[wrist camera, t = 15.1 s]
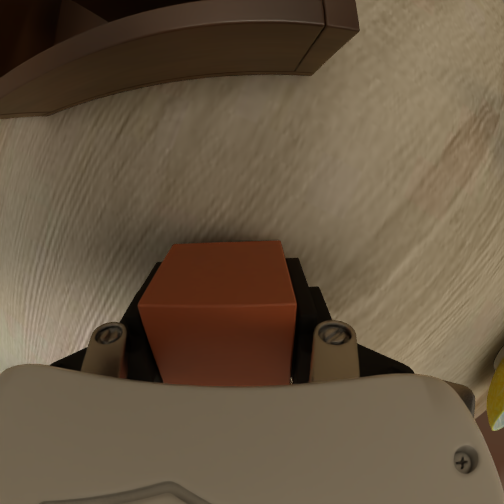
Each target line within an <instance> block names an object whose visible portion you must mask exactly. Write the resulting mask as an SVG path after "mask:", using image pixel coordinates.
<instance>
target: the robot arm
mask: <svg viewBox="0 0 504 504" xmlns="http://www.w3.org/2000/svg"><path fill="white" fill-rule="evenodd" d="M285 260H286V263H287V267H288V271H289V275H290V279H291V283H292V287H293V290H294V294H295V298H296V302H297V309H296V323H295V335H294V347H293V358H292V368H291V377H292V380H293V384H289V385H270V386H200V385H181V384H168V383H163V379H162V377H161V374H160V372H159V369H158V366H157V364H156V361H155V358H154V355H153V353H152V350H151V347H150V344H149V341H148V338H147V335H146V332H145V329H144V326H143V323H142V319H141V316H140V313H139V309H138V303H139V301H140V299H141V298H142V296H143V294H144V292H145V291H146V289H147V287H148V285H149V284H150V282H151V280H152V278H153V277H154V275H155V273H156V272H157V270H158V268H159V267H160V265H161V263H162V262H157V263H156V264H155V266H154V268H153V269H152V271H151V272H150V274H149V276H148V277H147V279H146V280H145V282H144V284H143V285H142V287H141V289H140V290H139V291H138V292H137V294H136V295H135V297H134V299H133V300H132V302H131V304H130V305H129V307H128V309H127V311H126V312H125V314H124V316H123V317H122V319H121V321H120V323H119V322H109V323H105V324H102V325H100V326H99V327H97V328H96V329H95V330H94V331H93V333H92V335H91V338H90V341H89V344H88V347H87V348H84V349H82V350H80V351H78V352H76V353H74V354H71V355H69V356H67V357H65V358H63V359H61V360H58V361H56V362H54V363H52V364H51V365H50V366H49V365H41V364H24V365H17V366H13V367H10V368H8V369H6V370H5V371H3V372H2V373H1V374H0V504H504V492H503V488H502V484H501V481H500V478H499V475H498V473H497V470H496V467H495V464H494V462H493V459H492V457H491V454H490V452H489V449H488V447H487V445H486V442H485V440H484V438H483V435H482V434H481V431H480V430H479V428H478V426H477V424H476V422H475V420H474V410H475V396H474V394H473V392H472V390H470V389H469V388H468V387H466V386H464V385H461V384H457V383H452V382H448V381H444V380H441V379H439V378H436V377H432V376H428V375H420V374H415V373H414V372H413V370H412V369H411V368H410V367H408V366H406V365H405V364H403V363H400V362H398V361H396V360H393V359H391V358H389V357H386V356H384V355H382V354H380V353H377V352H375V351H373V350H371V349H368V348H366V347H364V346H362V345H359V344H357V339H356V333H355V330H354V329H353V328H352V327H351V326H350V325H348V324H347V323H344V322H342V321H336V320H332V318H331V316H330V313H329V311H328V308H327V306H326V303H325V301H324V298H323V296H322V293H321V291H320V288H319V287H318V286H317V287H308V284H307V281H306V278H305V275H304V272H303V270H302V267H301V264H300V261H299V259H298V258H285Z"/></svg>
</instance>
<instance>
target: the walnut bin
mask: <svg viewBox="0 0 504 504" xmlns="http://www.w3.org/2000/svg"><path fill="white" fill-rule="evenodd" d="M359 31H360V29H359V22H358V15H357V8H356V2H355V0H201V1H194V2H188V3H182V4H176V5H171V6H166V7H161V8H157V9H153V10H149V11H145V12H141V13H137V14H134V15H130V16H127V17H124V18H120V19H117V20H114V21H111V22H107V21H106V20H104V19H102V18H101V17H99V16H97V15H96V14H94V13H92V12H91V11H89V10H87V9H86V8H84V7H82V6H80V5H79V4H77V3H75V2H73V1H71V0H0V119H9V118H20V117H35V116H49V115H51V114H54V113H57V112H59V111H62V110H65V109H67V108H70V107H73V106H76V105H79V104H82V103H85V102H88V101H92V100H95V99H98V98H102V97H105V96H109V95H113V94H117V93H120V92H125V91H129V90H133V89H138V88H142V87H147V86H152V85H158V84H163V83H169V82H176V81H182V80H190V79H198V78H208V77H219V76H233V75H261V74H278V75H306V76H312V75H313V74H314V72H316V71H317V70H318V69H319V68H320V67H321V66H322V65H323V64H324V63H325V62H326V61H327V60H328V59H329V58H330V57H332V56H333V55H334V54H335V53H336V52H337V51H338V50H339V49H340V48H341V47H342V46H344V45H345V44H346V43H347V42H348V41H349V40H350V39H351V38H353V37H354V36H355V35H356V34H357V33H358V32H359Z"/></svg>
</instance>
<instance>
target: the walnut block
mask: <svg viewBox="0 0 504 504" xmlns="http://www.w3.org/2000/svg"><path fill="white" fill-rule="evenodd" d="M71 1H73V2H75V3H77V4H79V5H80V6H82V7H84V8H86V9H87V10H89V11H91V12H92V13H94V14H96V15H97V16H99V17H101V18H102V19H104V20H106V21H107V22H111V21H114V20H117V19H120V18H124V17H127V16H130V15H134V14H137V13H141V12H145V11H149V10H153V9H157V8H161V7H166V6H171V5H176V4H182V3H188V2H194V1H201V0H71Z"/></svg>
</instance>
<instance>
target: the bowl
mask: <svg viewBox="0 0 504 504" xmlns="http://www.w3.org/2000/svg"><path fill="white" fill-rule="evenodd" d="M493 366H494V369H495V370H496V371H495V373H494V376H493V378H492V381H491V384H490V387H489V391H488V396H487V414H488V419H489V423H490V427H491V429H492V430H493V431H496V430H498V429H500V428H503V427H504V346H503V347H502V349H501V350H500V352H499V353H498V355H497V357H496V358H495V361H494V365H493Z"/></svg>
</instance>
